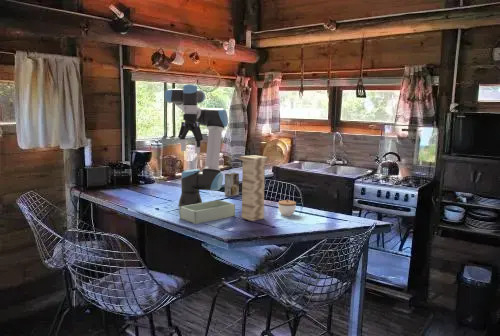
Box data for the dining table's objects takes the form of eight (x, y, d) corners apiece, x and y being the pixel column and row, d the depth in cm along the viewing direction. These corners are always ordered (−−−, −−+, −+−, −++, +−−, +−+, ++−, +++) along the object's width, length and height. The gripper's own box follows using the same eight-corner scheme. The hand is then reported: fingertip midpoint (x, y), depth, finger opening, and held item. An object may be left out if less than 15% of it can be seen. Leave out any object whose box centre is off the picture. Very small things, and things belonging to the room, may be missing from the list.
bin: (194, 224, 226) (194, 211, 225) (179, 218, 236) (179, 206, 235) (235, 215, 245) (235, 204, 244) (219, 210, 256) (219, 199, 255)
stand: (252, 221, 232) (253, 158, 227) (238, 217, 241) (239, 156, 236) (267, 218, 240) (268, 157, 235) (253, 214, 249) (254, 155, 244)
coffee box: (232, 193, 310) (232, 172, 307) (239, 194, 306) (239, 173, 303) (224, 195, 303) (224, 173, 301) (230, 196, 299) (230, 174, 296)
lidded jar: (294, 212, 255) (295, 197, 254) (296, 217, 245) (297, 201, 244) (277, 212, 256) (278, 197, 254) (278, 216, 245) (278, 201, 244)
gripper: (171, 112, 231) (172, 150, 234) (198, 113, 213) (198, 154, 216) (183, 113, 237) (183, 149, 239) (209, 113, 219) (209, 153, 221)
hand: (190, 152), depth 228 cm, fingers open, 13 cm apart
